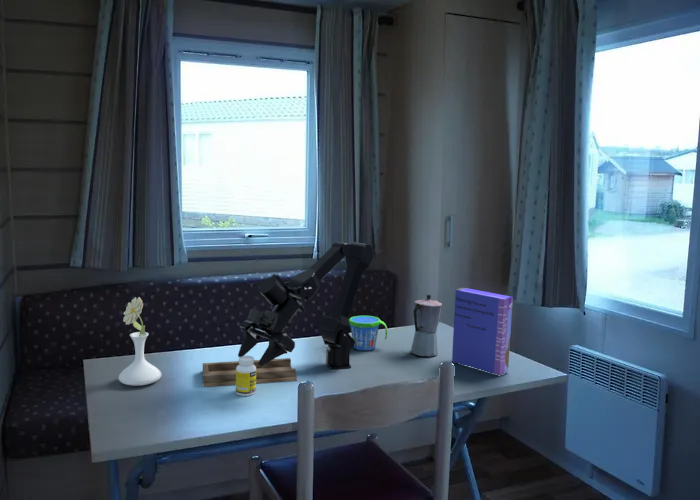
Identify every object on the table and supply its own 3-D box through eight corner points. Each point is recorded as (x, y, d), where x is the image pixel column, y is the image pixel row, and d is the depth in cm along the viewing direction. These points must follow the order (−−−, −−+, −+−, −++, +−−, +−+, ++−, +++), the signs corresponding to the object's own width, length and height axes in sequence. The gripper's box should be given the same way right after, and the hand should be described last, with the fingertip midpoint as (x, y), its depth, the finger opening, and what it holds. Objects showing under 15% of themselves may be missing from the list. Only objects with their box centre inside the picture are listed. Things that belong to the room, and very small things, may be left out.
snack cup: (338, 350, 202) (339, 321, 200) (345, 341, 212) (345, 313, 211) (384, 354, 199) (385, 324, 197) (388, 345, 209) (389, 317, 208)
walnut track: (289, 365, 185) (289, 357, 185) (296, 380, 173) (296, 371, 172) (202, 371, 179) (202, 362, 178) (203, 386, 166) (203, 377, 166)
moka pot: (446, 351, 204) (449, 293, 202) (427, 362, 192) (430, 301, 189) (421, 345, 209) (423, 289, 207) (400, 357, 197) (403, 297, 194)
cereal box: (507, 373, 184) (512, 296, 181) (499, 376, 181) (504, 298, 177) (460, 359, 196) (464, 287, 193) (451, 362, 193) (455, 288, 189)
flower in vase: (118, 377, 172) (115, 291, 168) (159, 373, 176) (158, 289, 173) (119, 393, 160) (116, 301, 156) (163, 388, 164) (162, 299, 161)
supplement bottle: (251, 397, 160) (252, 361, 158) (232, 395, 161) (232, 360, 159) (259, 390, 165) (259, 355, 163) (240, 388, 166) (240, 354, 165)
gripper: (245, 292, 170) (211, 336, 164) (287, 303, 157) (252, 352, 151) (267, 315, 177) (235, 358, 171) (309, 328, 164) (276, 376, 157)
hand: (248, 361), depth 162 cm, fingers open, 9 cm apart
